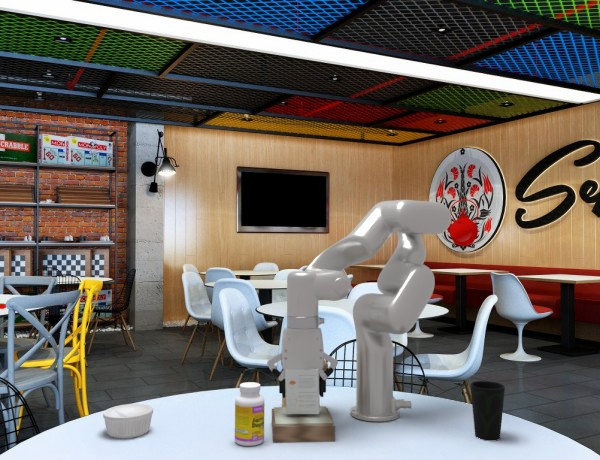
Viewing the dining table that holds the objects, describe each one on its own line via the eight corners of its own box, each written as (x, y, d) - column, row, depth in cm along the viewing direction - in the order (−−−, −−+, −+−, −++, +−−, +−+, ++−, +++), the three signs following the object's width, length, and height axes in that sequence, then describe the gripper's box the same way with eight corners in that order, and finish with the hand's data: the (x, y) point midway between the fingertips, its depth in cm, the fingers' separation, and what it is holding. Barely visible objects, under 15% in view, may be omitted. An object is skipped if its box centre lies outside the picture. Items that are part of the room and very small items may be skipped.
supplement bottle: (252, 449, 125) (252, 389, 125) (228, 443, 128) (228, 385, 129) (270, 440, 131) (270, 383, 131) (246, 434, 134) (247, 379, 134)
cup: (487, 444, 129) (487, 390, 129) (463, 434, 135) (463, 383, 136) (512, 439, 132) (512, 386, 132) (487, 429, 139) (487, 379, 139)
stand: (327, 421, 144) (327, 405, 144) (334, 441, 130) (334, 423, 130) (271, 422, 143) (271, 406, 143) (273, 442, 129) (273, 424, 129)
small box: (319, 407, 140) (319, 364, 140) (319, 414, 134) (319, 369, 134) (286, 407, 140) (286, 364, 140) (285, 414, 134) (284, 369, 135)
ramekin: (92, 437, 132) (93, 414, 132) (123, 423, 143) (123, 401, 143) (133, 443, 128) (133, 419, 129) (161, 428, 139) (162, 406, 139)
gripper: (336, 320, 142) (336, 391, 141) (266, 321, 140) (265, 392, 140) (340, 325, 134) (340, 399, 134) (266, 325, 133) (266, 401, 132)
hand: (302, 395), depth 137 cm, fingers closed on small box, 8 cm apart
